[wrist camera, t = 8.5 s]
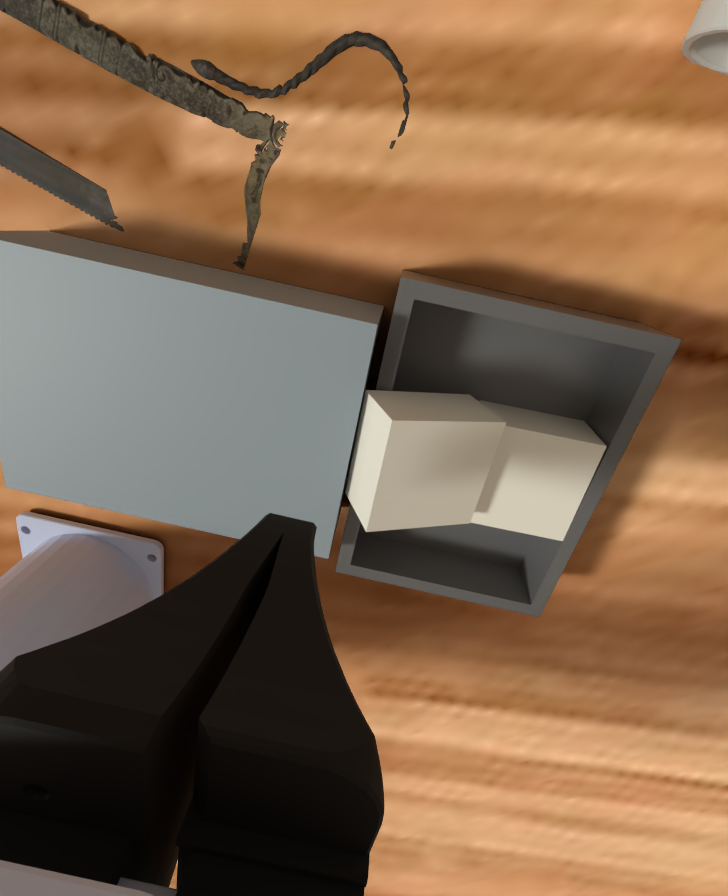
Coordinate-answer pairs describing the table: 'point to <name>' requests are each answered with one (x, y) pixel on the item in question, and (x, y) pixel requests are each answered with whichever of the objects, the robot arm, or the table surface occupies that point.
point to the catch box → (513, 384)
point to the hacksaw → (66, 26)
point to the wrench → (709, 36)
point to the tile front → (420, 459)
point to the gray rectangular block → (177, 386)
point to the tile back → (537, 472)
